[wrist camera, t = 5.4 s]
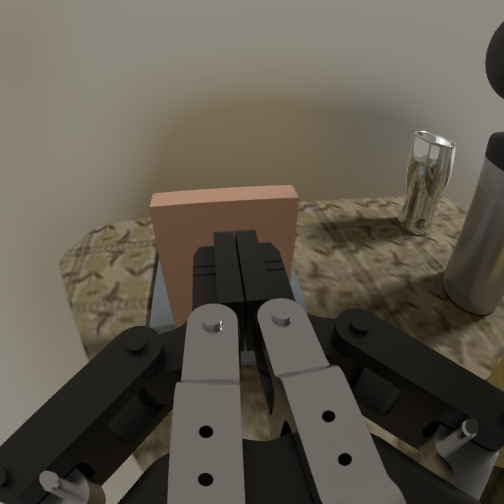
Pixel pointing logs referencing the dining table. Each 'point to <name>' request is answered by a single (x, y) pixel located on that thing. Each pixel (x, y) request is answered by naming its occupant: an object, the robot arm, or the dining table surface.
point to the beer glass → (426, 181)
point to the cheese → (500, 378)
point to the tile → (217, 230)
